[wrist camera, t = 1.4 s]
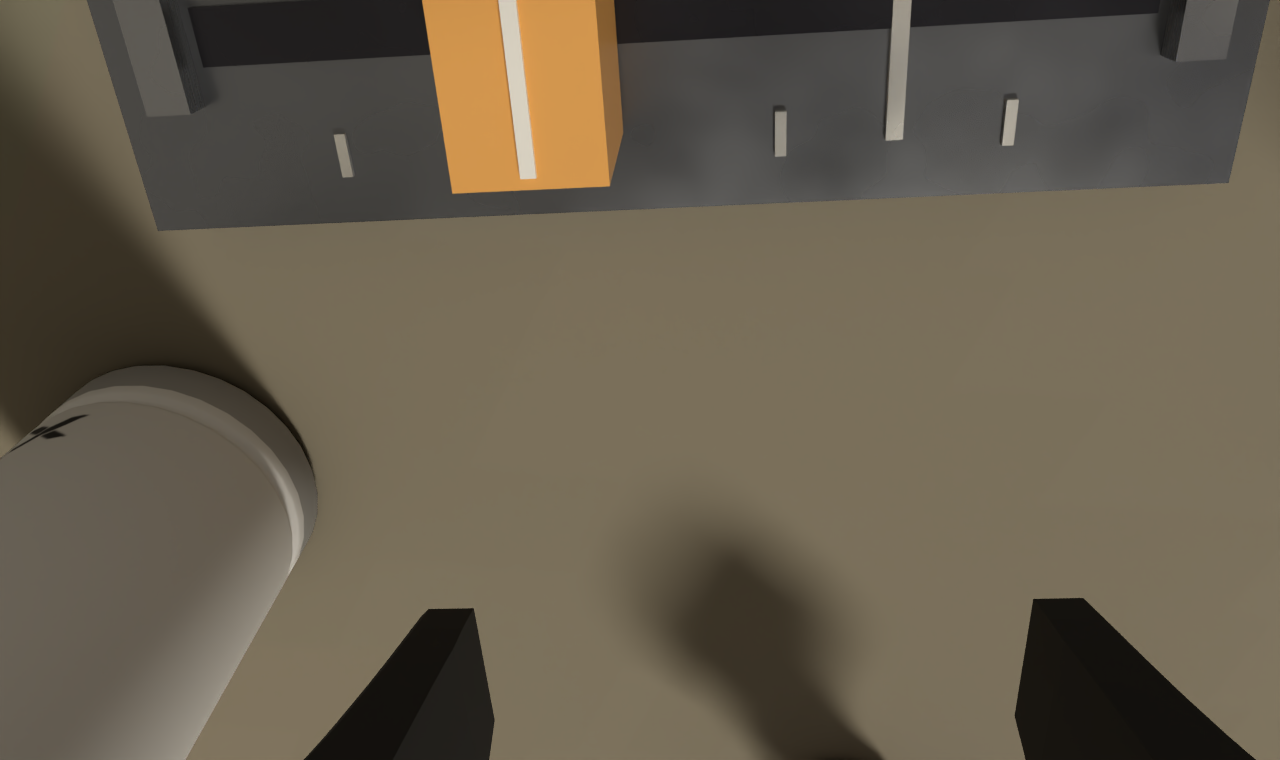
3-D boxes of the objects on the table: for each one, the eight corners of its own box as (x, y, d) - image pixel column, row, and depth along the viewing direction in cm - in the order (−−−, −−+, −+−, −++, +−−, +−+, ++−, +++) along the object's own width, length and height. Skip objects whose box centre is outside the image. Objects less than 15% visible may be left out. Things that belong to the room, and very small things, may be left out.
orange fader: (605, -119, 16) (585, -111, 13) (623, 132, 18) (609, 188, 15) (457, -109, 16) (404, -99, 13) (490, 138, 18) (450, 195, 15)
